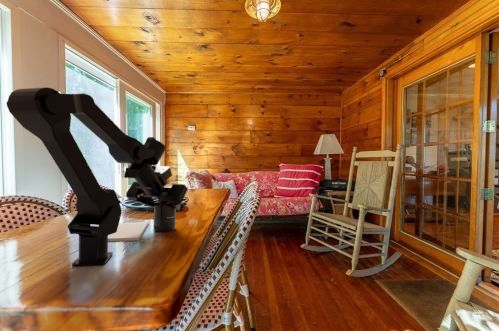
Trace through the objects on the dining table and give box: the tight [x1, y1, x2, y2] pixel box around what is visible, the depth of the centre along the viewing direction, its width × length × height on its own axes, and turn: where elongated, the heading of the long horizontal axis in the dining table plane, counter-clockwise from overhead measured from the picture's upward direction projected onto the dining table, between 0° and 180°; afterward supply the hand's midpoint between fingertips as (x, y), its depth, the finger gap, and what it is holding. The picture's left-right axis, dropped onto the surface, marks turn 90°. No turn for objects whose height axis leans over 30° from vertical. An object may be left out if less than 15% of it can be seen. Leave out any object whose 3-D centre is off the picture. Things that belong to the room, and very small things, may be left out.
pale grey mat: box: [108, 221, 150, 242], centre depth 83 cm, size 18×12×1 cm, turn 12°
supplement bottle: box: [153, 195, 177, 233], centre depth 88 cm, size 7×7×12 cm
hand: (167, 207), depth 89 cm, fingers open, 9 cm apart
